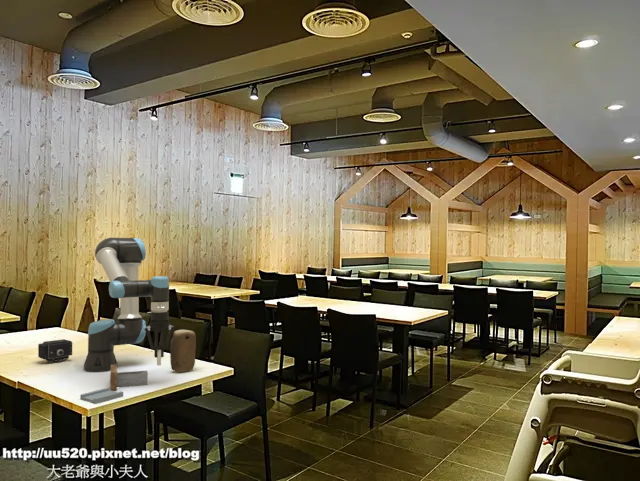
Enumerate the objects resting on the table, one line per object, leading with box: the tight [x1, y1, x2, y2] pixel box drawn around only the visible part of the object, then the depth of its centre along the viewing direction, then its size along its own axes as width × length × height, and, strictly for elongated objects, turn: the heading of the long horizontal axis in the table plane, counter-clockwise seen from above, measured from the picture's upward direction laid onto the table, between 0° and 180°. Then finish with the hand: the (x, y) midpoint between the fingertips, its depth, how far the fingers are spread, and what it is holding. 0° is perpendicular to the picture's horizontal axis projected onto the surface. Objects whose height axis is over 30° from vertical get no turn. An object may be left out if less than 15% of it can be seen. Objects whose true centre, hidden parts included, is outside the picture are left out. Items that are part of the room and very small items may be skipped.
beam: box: [109, 363, 118, 392], centre depth 216 cm, size 2×15×8 cm, turn 22°
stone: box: [169, 329, 197, 373], centre depth 245 cm, size 12×7×20 cm, turn 137°
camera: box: [37, 339, 73, 364], centre depth 260 cm, size 11×11×15 cm
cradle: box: [79, 387, 124, 405], centre depth 200 cm, size 12×10×2 cm
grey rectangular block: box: [117, 370, 149, 388], centre depth 219 cm, size 14×4×6 cm, turn 112°
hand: (158, 364), depth 223 cm, fingers closed
